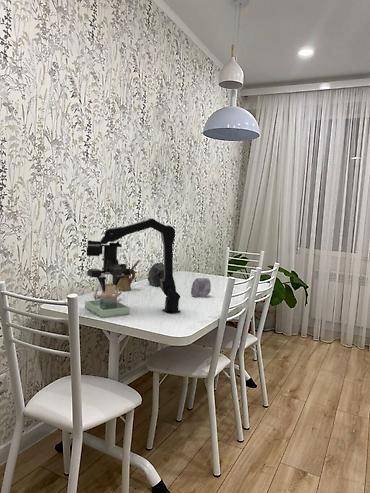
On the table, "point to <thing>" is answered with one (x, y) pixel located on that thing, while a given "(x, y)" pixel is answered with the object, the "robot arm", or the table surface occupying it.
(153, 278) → the rock
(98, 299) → the skeleton model
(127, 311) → the tote
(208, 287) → the rock
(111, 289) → the carton
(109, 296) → the tea tin
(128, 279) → the wooden mug
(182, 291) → the table surface
